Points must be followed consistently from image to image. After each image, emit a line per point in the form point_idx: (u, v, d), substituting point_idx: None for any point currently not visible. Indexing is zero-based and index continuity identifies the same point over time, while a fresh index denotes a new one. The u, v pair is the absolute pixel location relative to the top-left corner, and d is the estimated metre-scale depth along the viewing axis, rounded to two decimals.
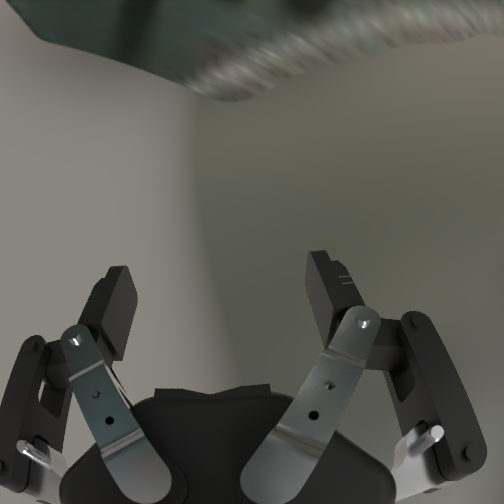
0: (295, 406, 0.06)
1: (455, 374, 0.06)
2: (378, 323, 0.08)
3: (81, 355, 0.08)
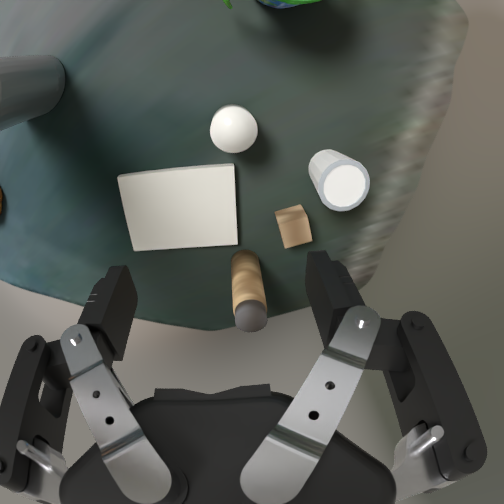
0: (294, 406, 0.06)
1: (455, 374, 0.06)
2: (378, 323, 0.08)
3: (81, 355, 0.08)
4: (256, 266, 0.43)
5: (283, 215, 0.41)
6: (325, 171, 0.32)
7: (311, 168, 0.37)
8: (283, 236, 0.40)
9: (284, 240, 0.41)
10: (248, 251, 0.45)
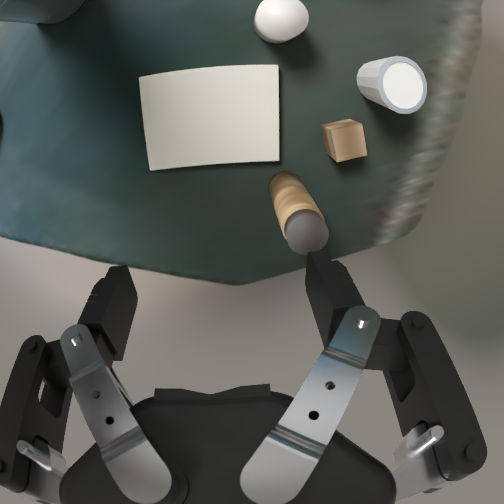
0: (294, 406, 0.06)
1: (455, 374, 0.06)
2: (378, 323, 0.08)
3: (81, 355, 0.08)
4: (302, 184, 0.34)
5: (332, 125, 0.32)
6: (383, 65, 0.23)
7: (362, 74, 0.28)
8: (335, 146, 0.31)
9: (336, 151, 0.32)
10: (290, 172, 0.36)
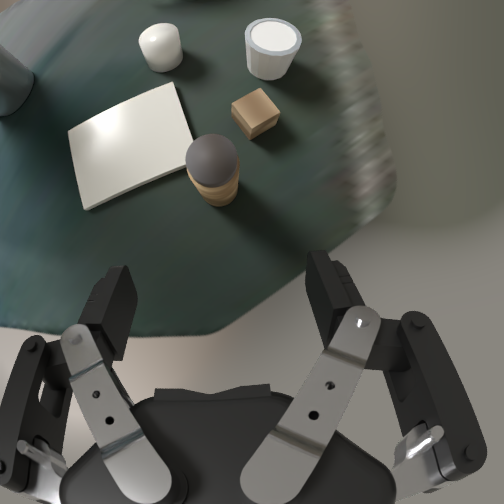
0: (294, 406, 0.06)
1: (455, 374, 0.06)
2: (378, 323, 0.08)
3: (81, 355, 0.08)
4: None
5: None
6: (247, 29, 0.27)
7: (247, 59, 0.32)
8: (243, 114, 0.30)
9: (246, 119, 0.30)
10: None
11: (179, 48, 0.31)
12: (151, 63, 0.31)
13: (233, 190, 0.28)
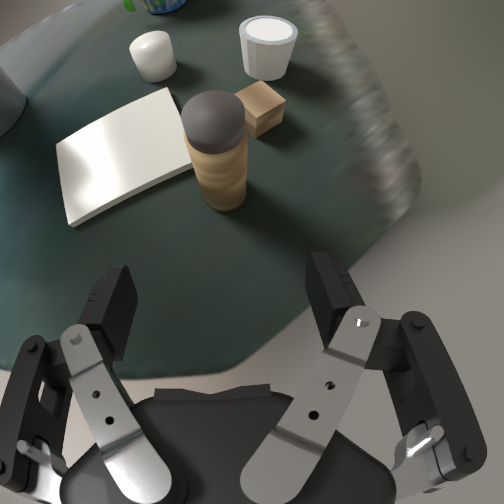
0: (295, 406, 0.06)
1: (455, 374, 0.06)
2: (378, 323, 0.08)
3: (81, 355, 0.08)
4: None
5: None
6: (241, 25, 0.26)
7: (243, 60, 0.31)
8: (245, 105, 0.27)
9: (249, 109, 0.27)
10: None
11: (172, 54, 0.30)
12: (144, 72, 0.30)
13: (242, 175, 0.23)
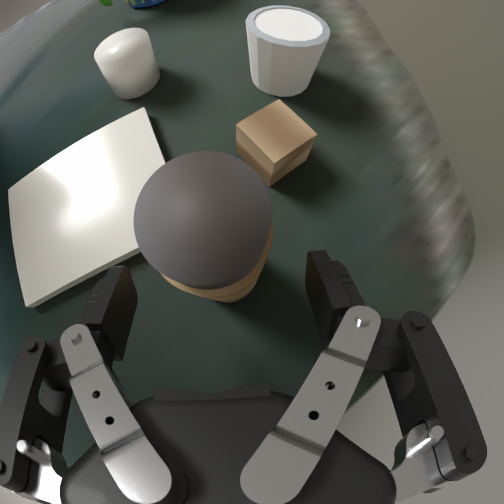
0: (295, 406, 0.06)
1: (455, 374, 0.06)
2: (378, 323, 0.08)
3: (81, 355, 0.08)
4: None
5: None
6: (248, 18, 0.18)
7: (251, 67, 0.22)
8: (256, 141, 0.19)
9: (263, 147, 0.18)
10: None
11: (153, 59, 0.21)
12: (116, 86, 0.22)
13: None
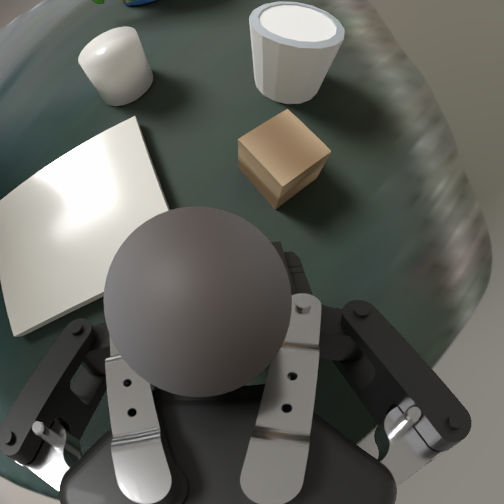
0: (266, 404, 0.06)
1: (413, 353, 0.07)
2: (318, 310, 0.09)
3: None
4: None
5: None
6: (252, 15, 0.15)
7: (254, 70, 0.20)
8: (262, 160, 0.16)
9: (269, 167, 0.16)
10: None
11: (144, 59, 0.19)
12: (105, 92, 0.19)
13: None
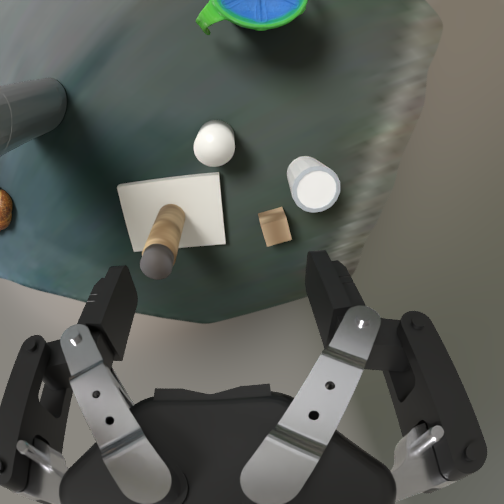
0: (295, 406, 0.06)
1: (455, 375, 0.06)
2: (378, 323, 0.08)
3: (81, 355, 0.08)
4: (176, 217, 0.41)
5: (265, 217, 0.45)
6: (297, 177, 0.37)
7: (288, 174, 0.42)
8: (265, 235, 0.45)
9: (266, 239, 0.45)
10: (172, 205, 0.43)
11: (233, 135, 0.37)
12: None
13: None
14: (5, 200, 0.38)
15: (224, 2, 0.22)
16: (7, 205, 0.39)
